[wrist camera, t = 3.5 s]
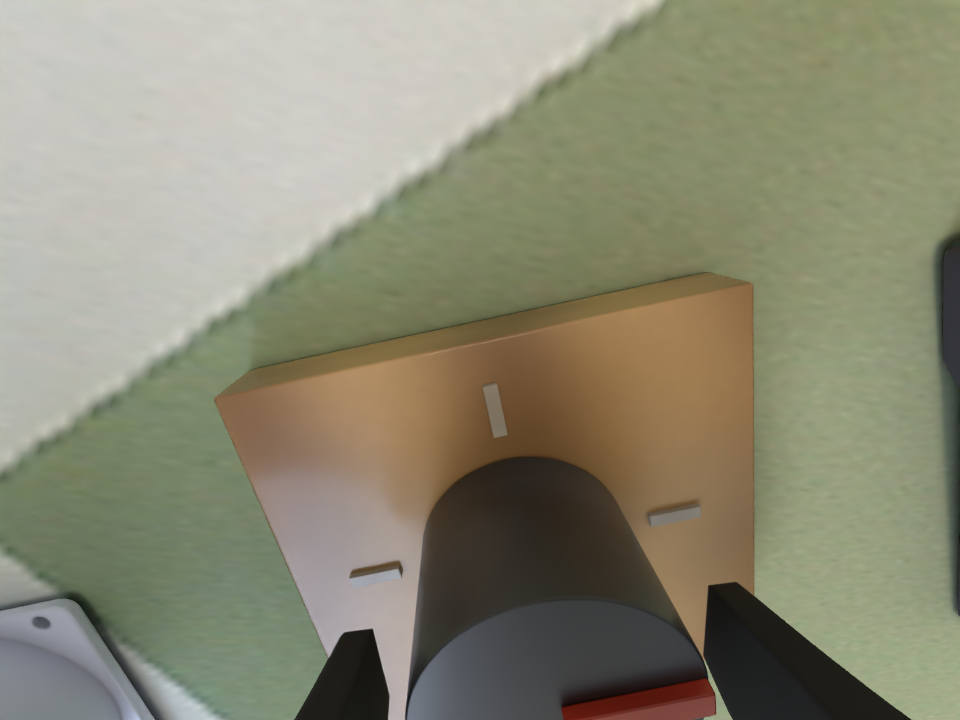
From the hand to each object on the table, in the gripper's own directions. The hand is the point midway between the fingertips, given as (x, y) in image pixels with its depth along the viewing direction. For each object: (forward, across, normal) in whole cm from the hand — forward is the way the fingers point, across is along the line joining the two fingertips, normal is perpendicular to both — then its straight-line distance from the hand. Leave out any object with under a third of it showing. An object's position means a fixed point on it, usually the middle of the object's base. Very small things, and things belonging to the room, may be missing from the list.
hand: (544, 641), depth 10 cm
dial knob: (+3, 0, 0) cm, 3 cm away
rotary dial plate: (+5, 0, 0) cm, 5 cm away
